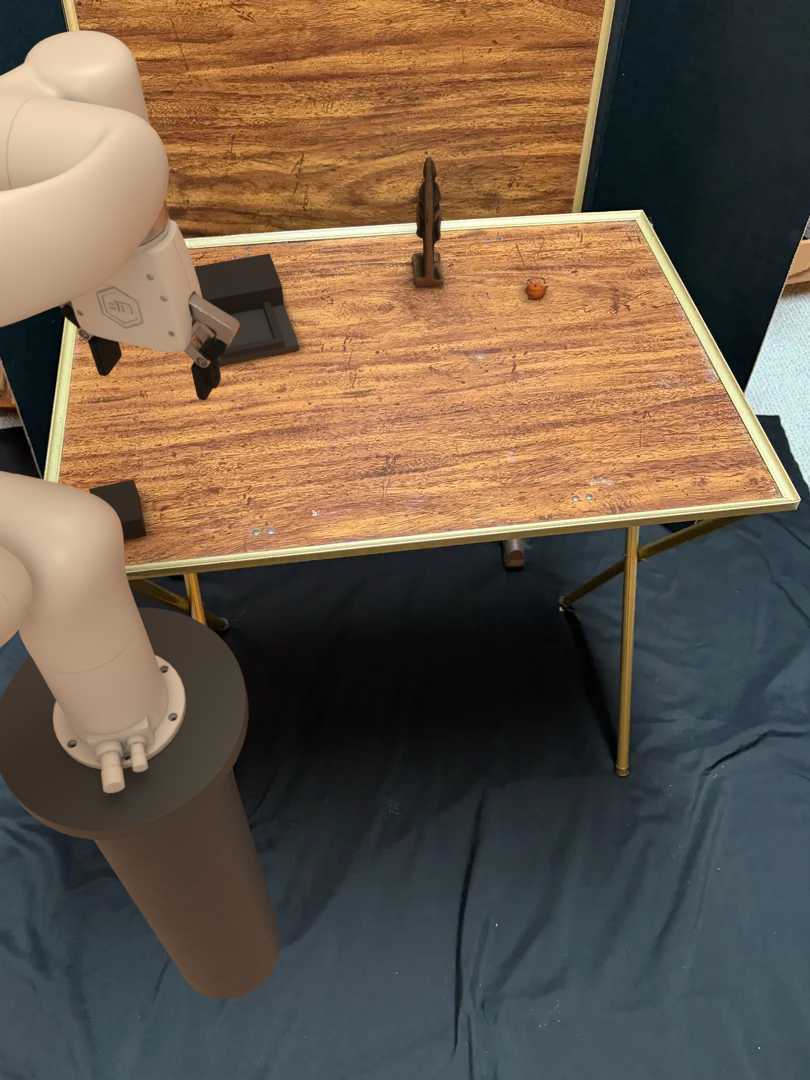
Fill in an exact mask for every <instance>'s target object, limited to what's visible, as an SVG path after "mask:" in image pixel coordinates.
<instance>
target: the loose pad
mask: <svg viewBox="0 0 810 1080" xmlns="http://www.w3.org/2000/svg"><path fill="white" fill-rule="evenodd" d="M135 481H136V480H135V479H127V480H124V481H119V482H115V483H109V484H105V485H99V486H96V487H95V486H94V487H91V488H88V492H89V493H91V494H93V495H95V496H97V497H99V498H101V499H102V500H104V501H105V502H107V503H108V504H109V505H110V506H111V507H112V508H113V509H114V510H115V512H116V513H117V515H118V517H119V519H120V522H121V526H122V531H123V539H124V541H126V540H130V539H135V538H140V537H145V536H147V530H146V525H145V520H144V514H143V509H142V503H141V498H140V494H139V491H138V488H137V483H136V482H135Z"/></svg>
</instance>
